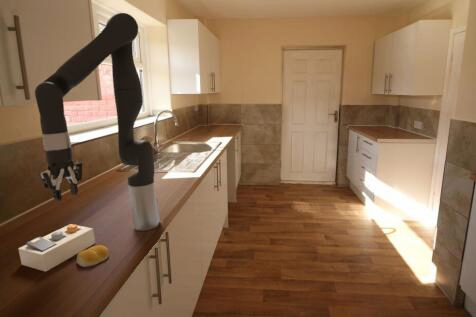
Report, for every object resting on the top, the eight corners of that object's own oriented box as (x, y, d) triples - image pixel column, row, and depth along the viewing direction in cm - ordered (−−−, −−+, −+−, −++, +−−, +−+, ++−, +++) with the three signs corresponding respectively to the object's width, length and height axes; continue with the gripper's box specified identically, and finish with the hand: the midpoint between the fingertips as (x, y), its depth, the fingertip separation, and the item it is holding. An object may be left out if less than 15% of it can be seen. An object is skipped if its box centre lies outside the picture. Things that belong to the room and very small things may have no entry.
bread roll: (114, 256, 98) (112, 245, 97) (86, 270, 91) (84, 258, 90) (99, 249, 103) (98, 238, 102) (72, 262, 96) (70, 250, 95)
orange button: (74, 230, 107) (72, 223, 106) (80, 231, 105) (79, 225, 105) (65, 234, 104) (64, 227, 103) (72, 235, 103) (71, 229, 102)
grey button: (59, 237, 102) (58, 230, 101) (66, 238, 101) (64, 232, 100) (50, 241, 99) (48, 235, 98) (57, 243, 98) (55, 236, 97)
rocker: (39, 239, 98) (39, 236, 97) (55, 247, 95) (55, 243, 95) (27, 245, 94) (26, 242, 94) (42, 254, 92) (42, 250, 91)
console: (73, 238, 111) (70, 224, 110) (95, 243, 107) (92, 228, 105) (21, 264, 95) (18, 248, 94) (45, 271, 91) (42, 254, 89)
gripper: (69, 142, 106) (77, 189, 110) (27, 151, 93) (38, 203, 97) (85, 143, 103) (92, 191, 107) (43, 152, 90) (54, 206, 94)
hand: (66, 197), depth 102 cm, fingers open, 5 cm apart
